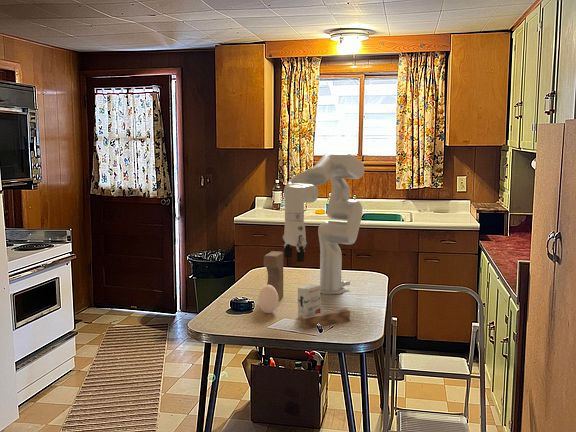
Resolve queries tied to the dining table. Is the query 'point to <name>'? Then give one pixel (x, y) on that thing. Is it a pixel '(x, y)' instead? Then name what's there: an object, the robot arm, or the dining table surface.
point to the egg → (268, 299)
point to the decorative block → (275, 270)
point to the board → (324, 318)
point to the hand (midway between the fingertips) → (294, 259)
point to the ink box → (308, 300)
